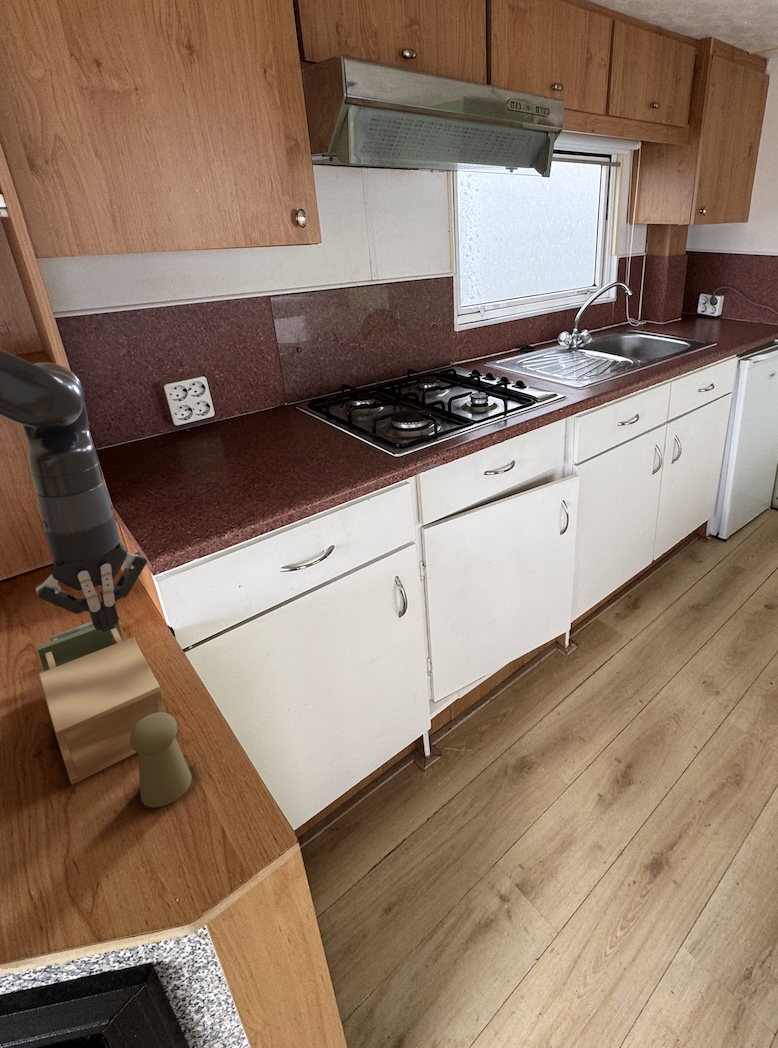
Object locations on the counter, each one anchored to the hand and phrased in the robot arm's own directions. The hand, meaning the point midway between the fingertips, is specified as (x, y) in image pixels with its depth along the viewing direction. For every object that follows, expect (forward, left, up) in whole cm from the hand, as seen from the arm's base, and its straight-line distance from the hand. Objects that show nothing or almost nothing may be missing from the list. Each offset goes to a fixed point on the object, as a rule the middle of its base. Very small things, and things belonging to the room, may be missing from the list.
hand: (107, 628), depth 81 cm
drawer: (-12, +6, -16) cm, 21 cm away
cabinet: (-2, -1, -17) cm, 18 cm away
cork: (+12, -9, -18) cm, 23 cm away
